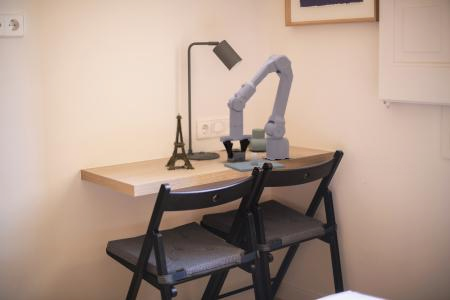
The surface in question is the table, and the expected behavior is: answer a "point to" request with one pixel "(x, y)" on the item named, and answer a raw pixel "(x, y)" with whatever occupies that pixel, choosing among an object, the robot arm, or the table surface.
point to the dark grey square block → (237, 156)
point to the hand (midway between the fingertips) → (236, 157)
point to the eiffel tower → (177, 144)
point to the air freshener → (257, 140)
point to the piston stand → (251, 164)
